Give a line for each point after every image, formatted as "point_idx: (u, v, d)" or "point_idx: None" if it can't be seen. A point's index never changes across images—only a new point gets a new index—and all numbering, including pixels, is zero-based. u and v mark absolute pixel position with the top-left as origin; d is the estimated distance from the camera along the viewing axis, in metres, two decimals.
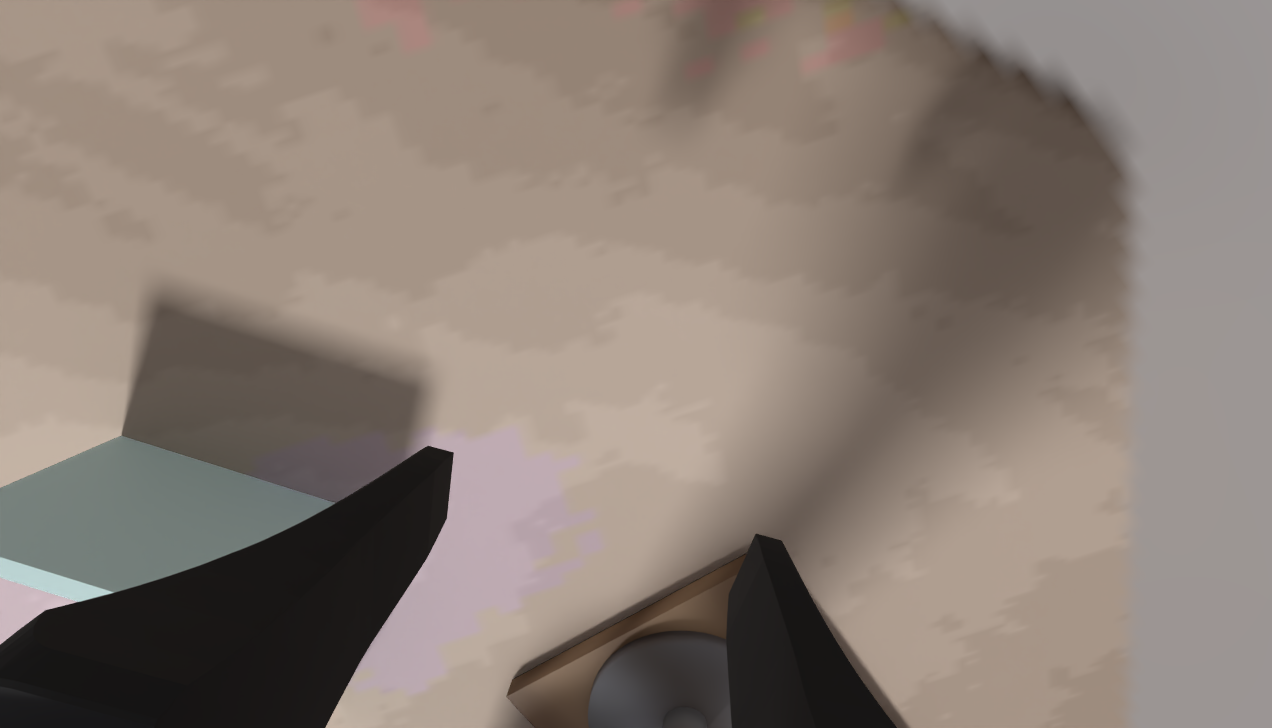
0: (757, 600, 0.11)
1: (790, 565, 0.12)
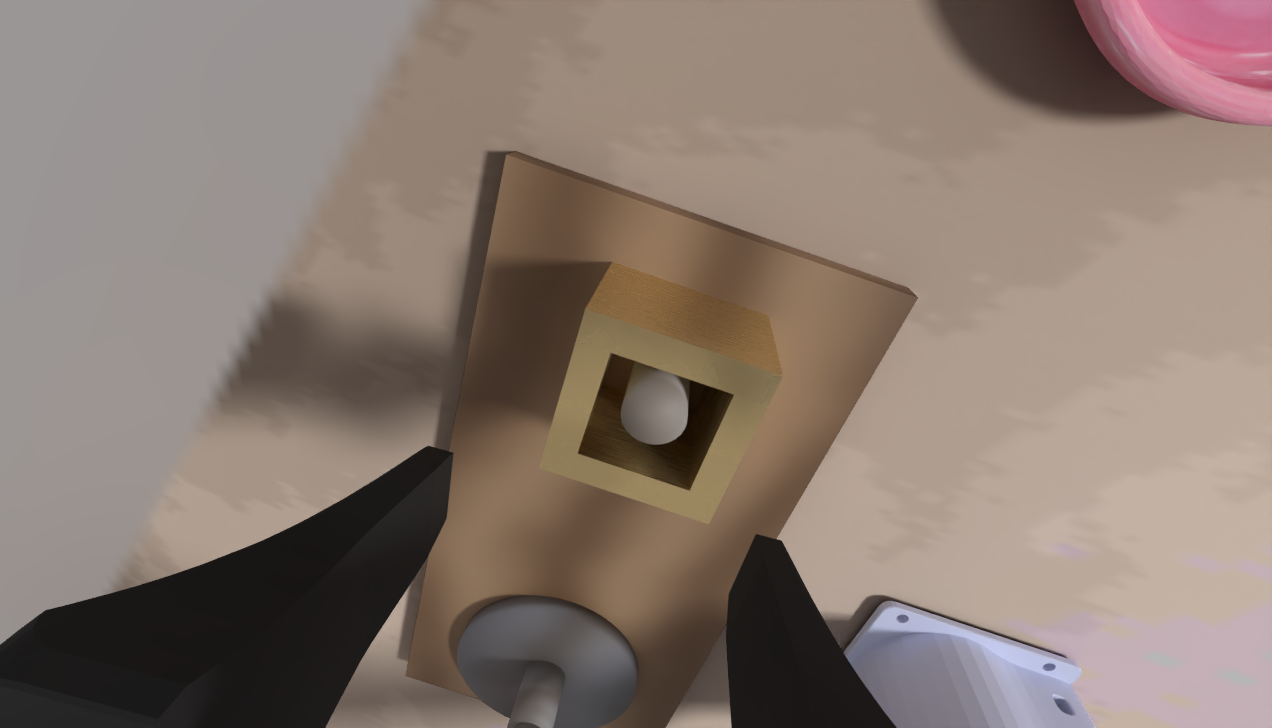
0: (757, 600, 0.11)
1: (790, 564, 0.12)
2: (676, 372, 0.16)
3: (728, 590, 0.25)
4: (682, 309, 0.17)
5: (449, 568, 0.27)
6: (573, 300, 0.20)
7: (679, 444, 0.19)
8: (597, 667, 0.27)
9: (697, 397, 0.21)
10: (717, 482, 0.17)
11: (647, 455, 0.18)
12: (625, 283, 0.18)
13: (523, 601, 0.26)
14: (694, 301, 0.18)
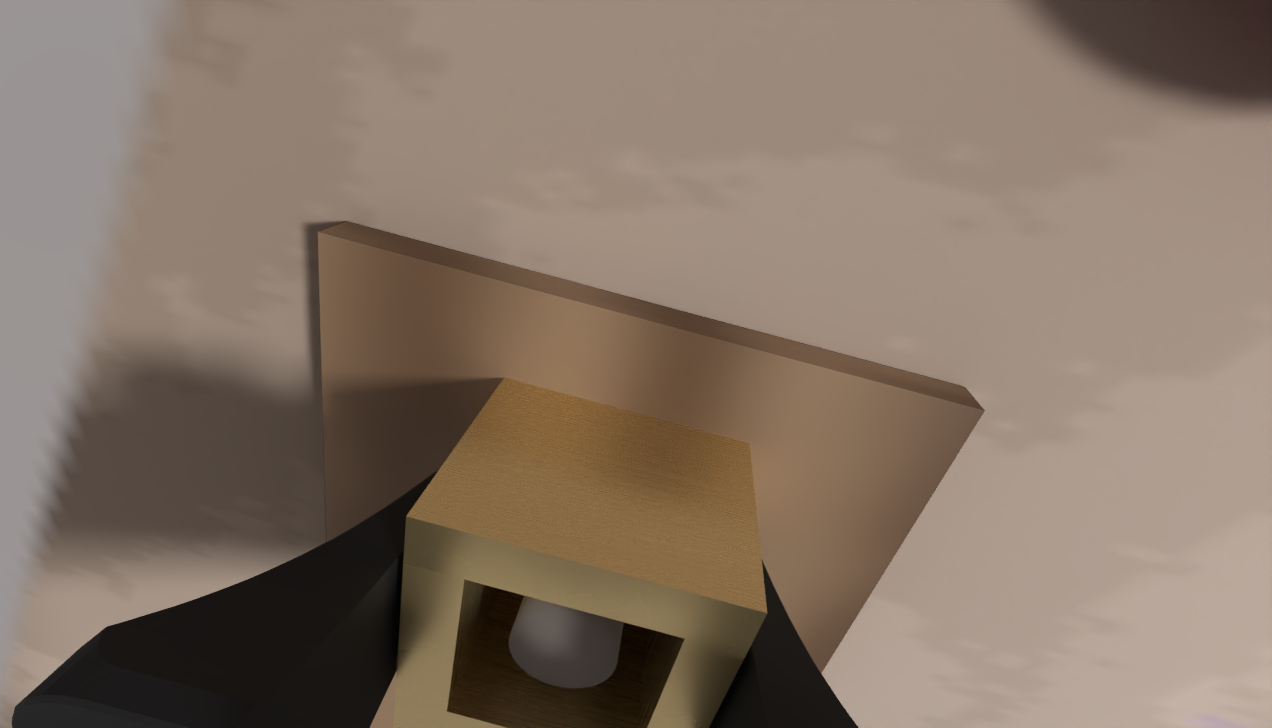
0: None
1: None
2: (580, 608, 0.09)
3: None
4: (602, 468, 0.11)
5: None
6: (457, 432, 0.13)
7: (626, 647, 0.13)
8: None
9: None
10: None
11: None
12: (512, 425, 0.11)
13: None
14: (627, 440, 0.11)
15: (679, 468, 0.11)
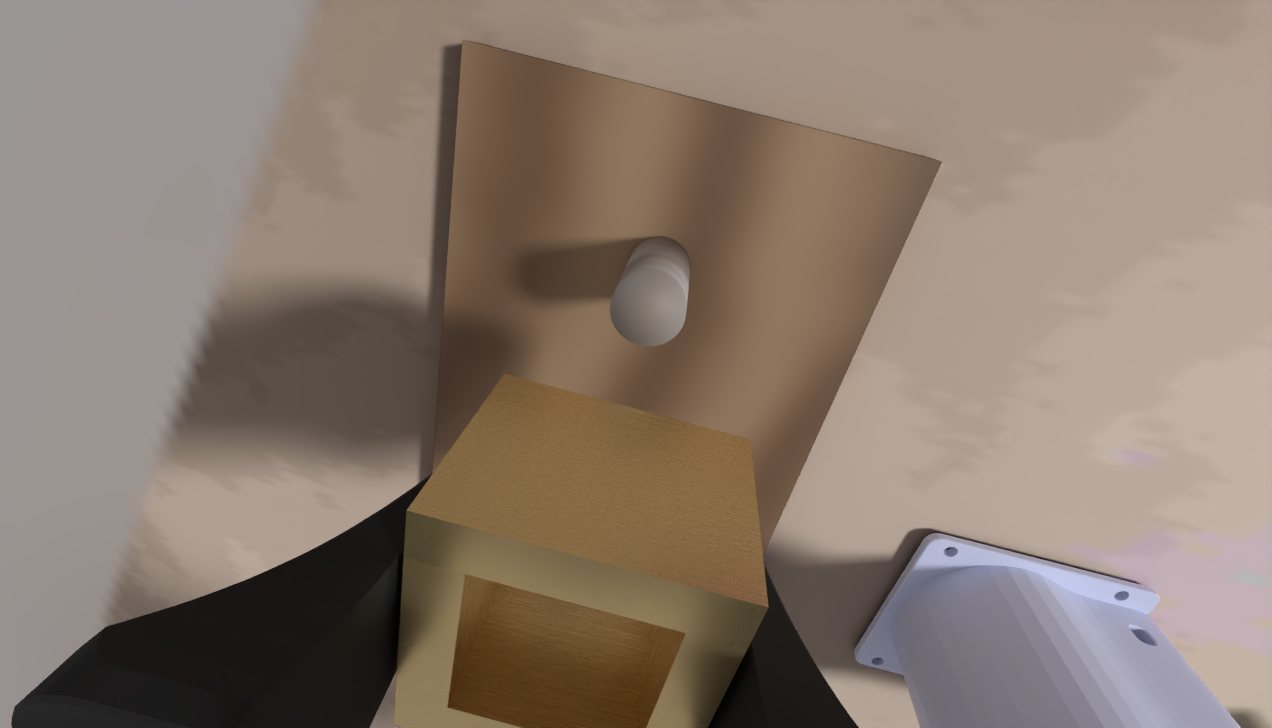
0: None
1: None
2: (581, 602, 0.09)
3: None
4: (602, 463, 0.11)
5: None
6: (553, 207, 0.18)
7: (626, 643, 0.13)
8: None
9: (700, 309, 0.19)
10: None
11: (569, 683, 0.11)
12: (512, 420, 0.11)
13: None
14: (628, 436, 0.11)
15: (680, 463, 0.11)
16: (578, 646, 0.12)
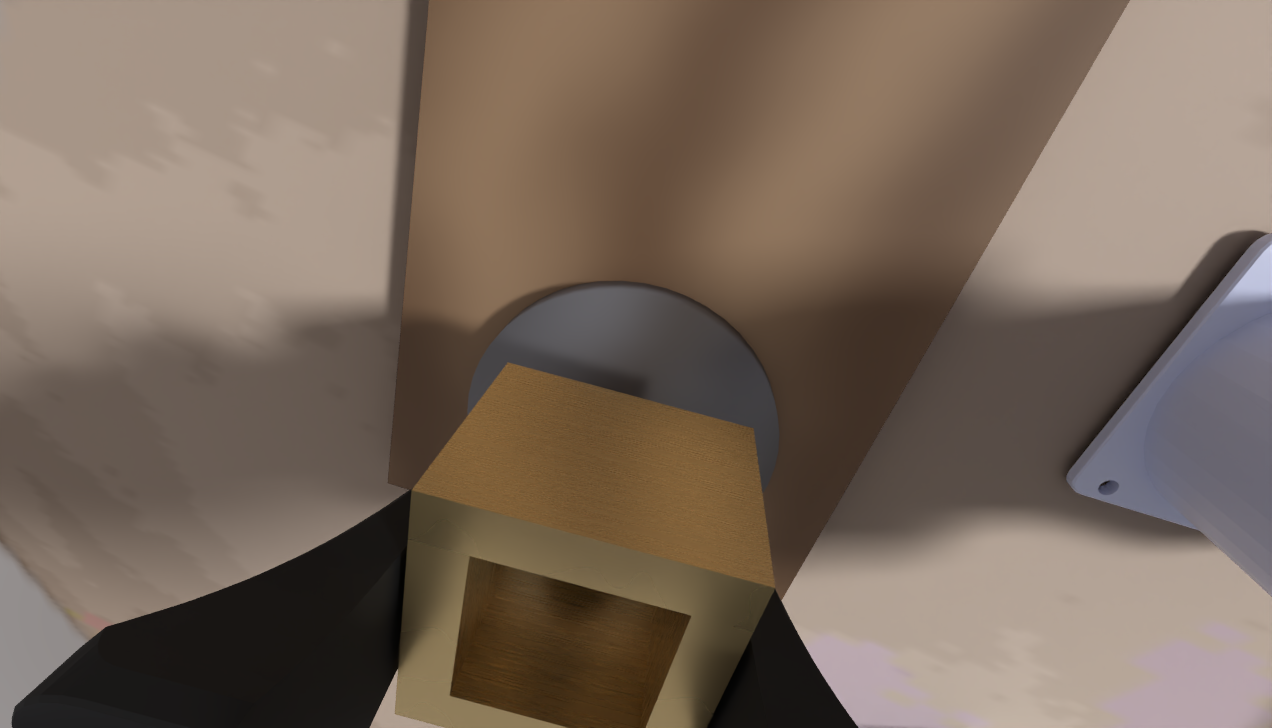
0: None
1: None
2: (586, 584, 0.09)
3: (968, 220, 0.13)
4: (606, 448, 0.10)
5: (449, 237, 0.15)
6: None
7: (630, 634, 0.12)
8: (711, 413, 0.16)
9: None
10: None
11: (573, 673, 0.11)
12: (516, 406, 0.11)
13: (581, 287, 0.15)
14: (632, 423, 0.11)
15: (684, 450, 0.11)
16: (581, 636, 0.12)
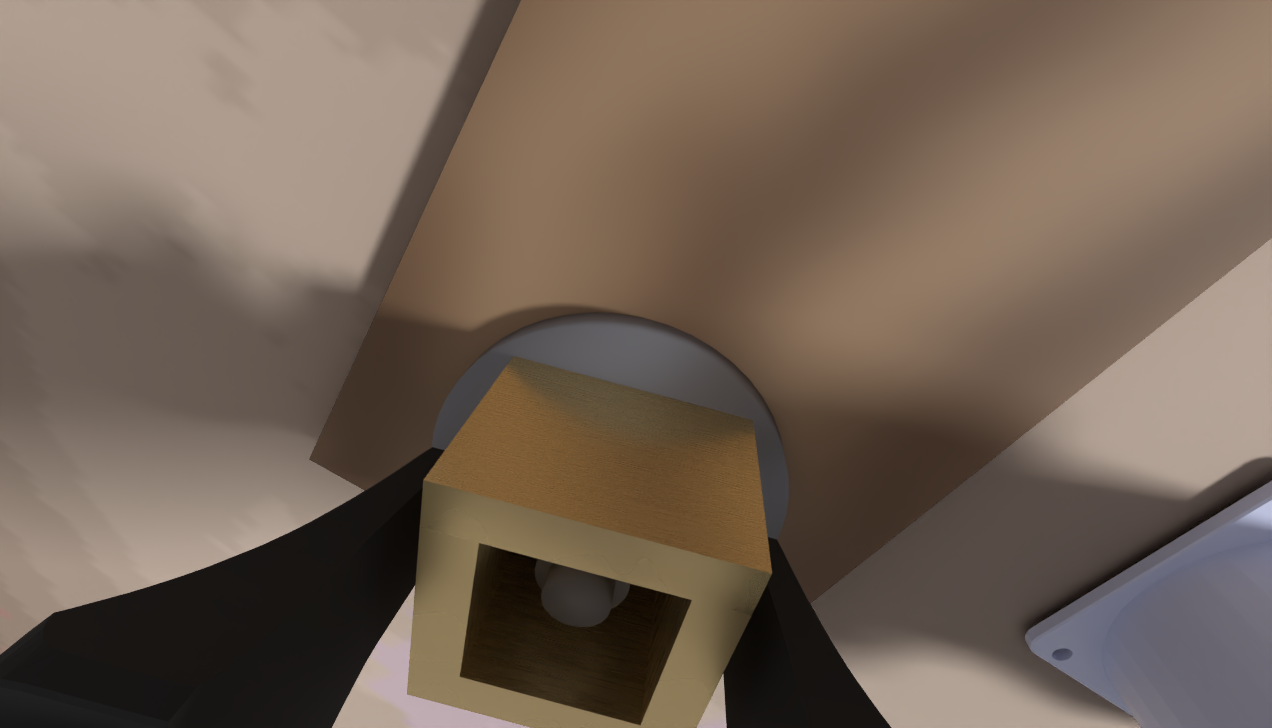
0: None
1: (785, 563, 0.12)
2: (591, 570, 0.09)
3: (1051, 377, 0.12)
4: (610, 440, 0.11)
5: (480, 212, 0.12)
6: None
7: (632, 619, 0.13)
8: None
9: None
10: (682, 715, 0.11)
11: (577, 656, 0.12)
12: (522, 399, 0.11)
13: (620, 319, 0.13)
14: (634, 415, 0.12)
15: (685, 441, 0.11)
16: None
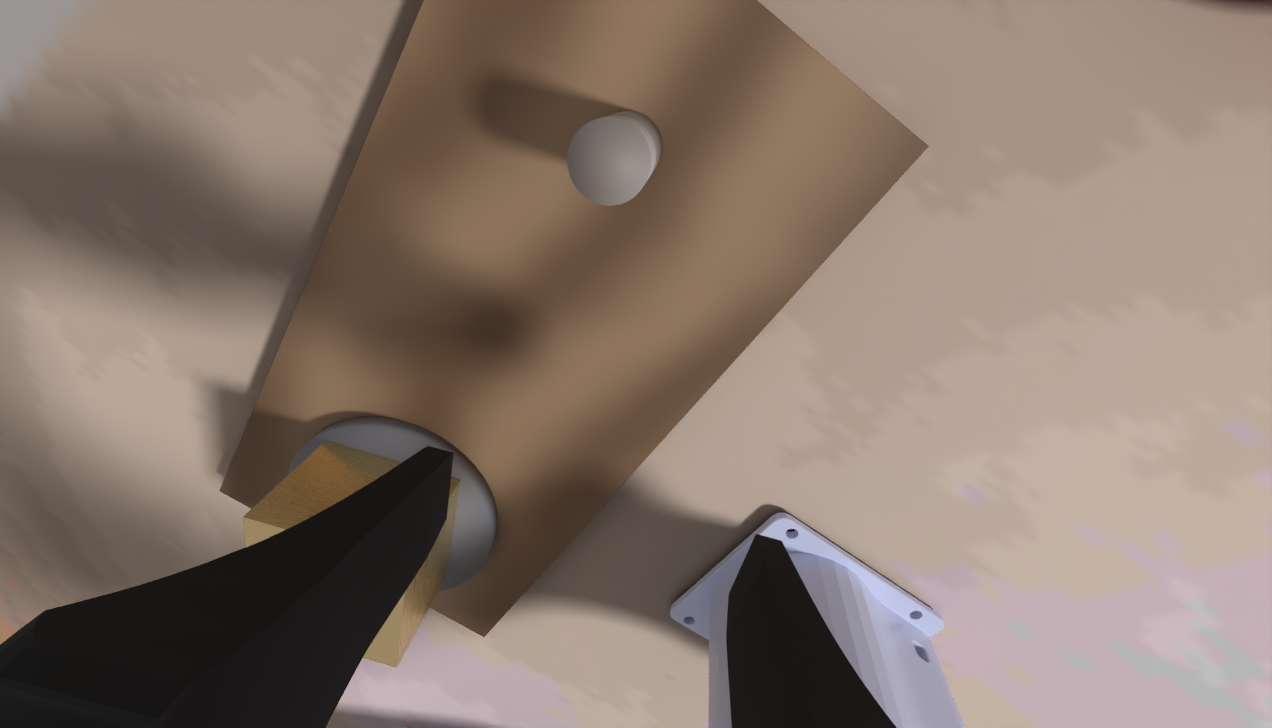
0: (757, 600, 0.11)
1: (790, 565, 0.12)
2: None
3: (621, 460, 0.22)
4: None
5: (304, 362, 0.22)
6: (543, 35, 0.16)
7: None
8: None
9: (653, 208, 0.18)
10: (390, 637, 0.20)
11: None
12: (318, 469, 0.21)
13: (384, 422, 0.22)
14: None
15: None
16: None
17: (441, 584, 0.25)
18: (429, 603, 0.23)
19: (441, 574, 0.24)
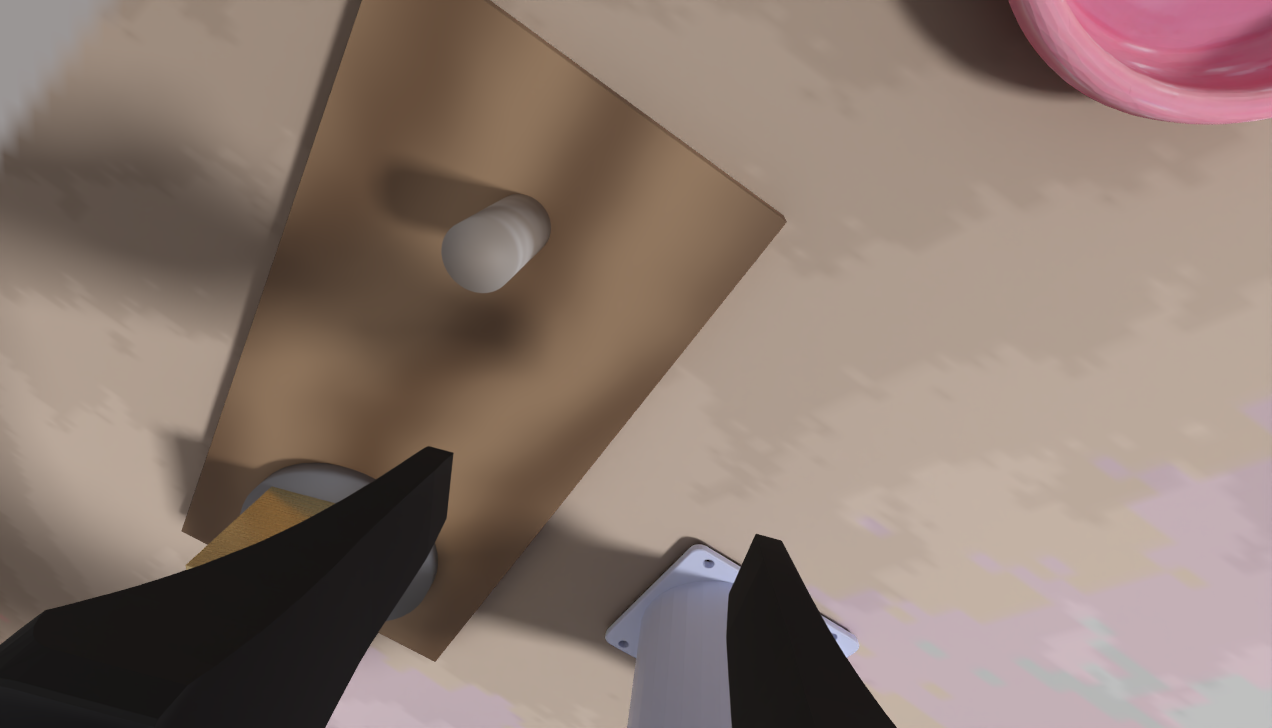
0: (757, 600, 0.11)
1: (790, 565, 0.12)
2: None
3: (544, 500, 0.24)
4: None
5: (249, 416, 0.24)
6: (435, 130, 0.18)
7: None
8: None
9: (548, 278, 0.20)
10: None
11: None
12: (261, 515, 0.23)
13: (325, 468, 0.24)
14: None
15: None
16: None
17: None
18: None
19: None
